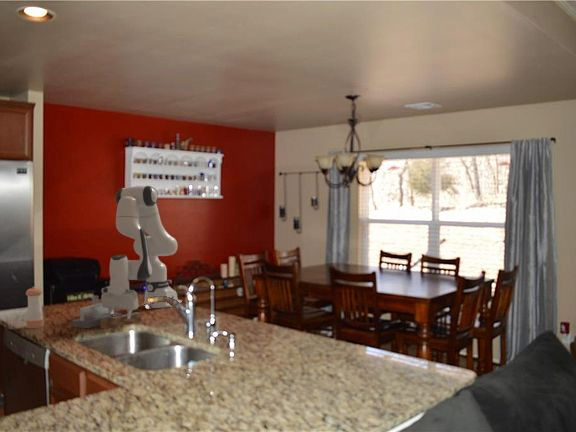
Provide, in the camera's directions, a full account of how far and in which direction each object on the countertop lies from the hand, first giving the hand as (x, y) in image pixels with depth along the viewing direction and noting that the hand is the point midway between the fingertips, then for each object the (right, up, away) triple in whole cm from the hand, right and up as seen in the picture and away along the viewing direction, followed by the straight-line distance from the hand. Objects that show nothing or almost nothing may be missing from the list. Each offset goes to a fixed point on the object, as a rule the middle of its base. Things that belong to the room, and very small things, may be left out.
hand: (120, 317), depth 265 cm
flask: (-19, -3, +22) cm, 29 cm away
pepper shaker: (-40, -4, -1) cm, 41 cm away
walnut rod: (0, -3, 0) cm, 3 cm away
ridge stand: (-12, -3, +4) cm, 13 cm away
